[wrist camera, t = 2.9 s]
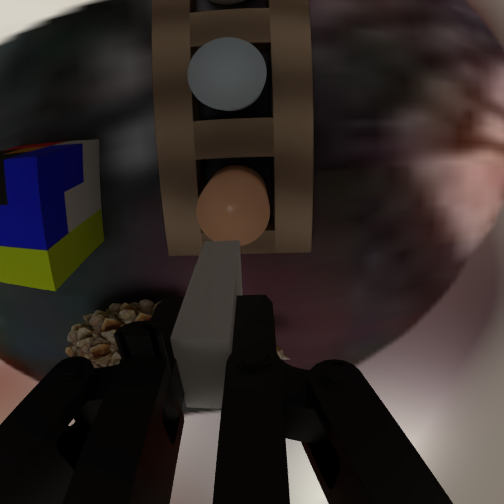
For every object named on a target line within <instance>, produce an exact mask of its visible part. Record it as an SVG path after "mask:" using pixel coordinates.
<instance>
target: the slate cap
mask: <svg viewBox="0 0 504 504" xmlns="http://www.w3.org/2000/svg"><path fill="white" fill-rule="evenodd" d="M266 76H267V70H266V64H265V61H264V58H263V56H262V55H261V53H260V52H259V51H258V49H256V48H255V47H254V46H253V45H252V44H250V43H249V42H247V41H245V40H242V39H239V38H233V37H224V38H218V39H214V40H212V41H210V42H208V43H206V44H204V45H203V46H202V47H201V48H199V49H198V50H197V52H196V53H195V54H194V56H193V57H192V59H191V61H190V64H189V67H188V83H189V86H190V89H191V91H192V92H193V94H194V95H195V97H196V98H197V99H198V100H199V101H201V102H202V103H203V104H205V105H207V106H209V107H211V108H214V109H218V110H225V111H238V110H242V109H244V108H247V107H248V106H250V105H251V104H253V103H254V102H255V101H256V100H257V99H258V97H259V96H260V94H261V92H262V90H263V87H264V84H265V81H266Z"/></svg>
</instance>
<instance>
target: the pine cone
mask: <svg viewBox="0 0 504 504" xmlns="http://www.w3.org/2000/svg"><path fill="white" fill-rule="evenodd" d="M160 302H161V301H160ZM160 302H159V303H160ZM157 304H158V303H157ZM157 304H156V303H155V304H154V303H153V302H152V301H150V300H147V299H144V300H142V301H140V302H139V303H136V302H132V303H131V304H127V303H124V304H123V305H122V304H121V303H118V304H116V303H112V304H111V305H110V306H109V309H106V310H105V312H103V311H100V310H96V311H95V312H94V314H88V315H84V316H83V317H84V320H85V322H84V323H80V324H76V325H74V326H72V327H71V331H70V333H69V334H68V341H70V342H71V344H72V345H69V347H66V353H67V354H68V355H69V356H70V357H73V356H82V357H86V358H87V359H89V360H91V362H92V364H93V366H94V368H100V367H106V366H112V365H117V364H119V362H120V360H121V356H120V353H119V350H118V347H117V344H116V341H115V338H114V335H113V334H114V333H115V332H116V331H117V330H118V329H119V328H120V327H122V326H123V325H125V324H128V323H131V322H134V321H149V322H150V319H151V317H152V315H153V312H154V310H155V308H156V306H157ZM276 350H277V353H278V356H279V357H280V358H281V359H289V358H287V357H286V356H284V353H283V349H281V348H280V347H278V345H276Z"/></svg>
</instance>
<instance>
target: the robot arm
mask: <svg viewBox="0 0 504 504" xmlns="http://www.w3.org/2000/svg"><path fill="white" fill-rule="evenodd" d="M113 335H114V338H115V341H116V344H117V347H118V350H119V353H120V356H121V360H120V362H119V364H117V365H112V366H106V367H100V368H94V366H93V364H92V362H91V360H89V359H87V358H86V357H82V356H73V357H69V358H66V359H64V360H62V361H60V362H59V363H58V364H57V365H55V366H54V368H53V369H52V370H51V371H50V372H49V373H48V374H47V375H46V376H45V377H44V378H43V379H42V380H41V381H40V382H39V383H38V384H37V385H36V387H35V388H33V390H32V391H31V392H30V393H29V394H28V395H27V396H26V397H25V398H24V399H23V400H22V402H20V404H19V405H18V406H17V407H16V408H15V409H14V410H13V411H12V412H11V413H10V415H9V416H8V417H7V418H6V419H5V420H4V421H3V422H2V423H1V425H0V504H169V503H170V498H171V492H172V486H173V480H174V474H175V469H176V463H177V458H178V452H179V446H180V441H181V435H182V430H183V424H184V415H183V411H182V404H183V400H184V398H185V402H186V406H187V407H193V408H222V409H221V420H220V430H219V440H218V451H217V462H216V472H215V483H214V484H215V485H214V494H213V495H214V496H213V504H290V498H289V483H288V469H287V455H286V441H285V438H288V439H292V440H297V441H301V442H302V445H303V447H304V450H305V452H306V454H307V456H308V459H309V461H310V463H311V465H312V468H313V470H314V472H315V474H316V476H317V479H318V481H319V483H320V485H321V488H322V490H323V492H324V494H325V496H326V498H327V501H328V503H329V504H453V503H452V502H451V500H450V499H449V497H448V495H447V494H446V493H445V491H444V490H443V488H442V487H441V485H440V484H439V482H438V481H437V479H436V478H435V477H434V475H433V474H432V472H431V471H430V469H429V468H428V466H427V465H426V464H425V462H424V461H423V459H422V458H421V456H420V455H419V454H418V452H417V451H416V449H415V448H414V446H413V445H412V444H411V442H410V441H409V439H408V438H407V436H406V435H405V433H404V432H403V431H402V429H401V428H400V426H399V425H398V424H397V422H396V421H395V419H394V418H393V416H392V415H391V414H390V412H389V411H388V409H387V408H386V407H385V405H384V404H383V402H382V401H381V400H380V398H379V397H378V395H377V394H376V393H375V391H374V390H373V388H372V387H371V386H370V384H369V383H368V381H367V380H366V379H365V377H364V376H363V374H362V373H361V372H360V370H359V369H357V368H356V367H355V366H354V365H353V364H351V363H348V362H346V361H343V360H336V359H333V360H325V361H322V362H320V363H317V364H316V365H315V366H314V367H313V368H312V369H311V370H305V369H300V368H296V367H293V366H290V365H288V364H286V363H285V362H284V361H283V360H281V358H280V357H279V356H278V353H277V350H276V338H275V327H274V316H273V305H272V302H271V301H270V299H269V298H268V297H267V296H266V295H242V276H241V256H240V240H237V241H205V242H204V244H203V247H202V250H201V252H200V255H199V258H198V261H197V263H196V266H195V269H194V272H193V274H192V277H191V280H190V283H189V286H188V288H187V291H186V294H185V297H165V298H164V299H163V300H162V301H161V302H160V303H158V304H157V306H156V308H155V310H154V312H153V315H152V317H151V319H150V322H149V321H134V322H131V323H128V324H125V325H123V326H122V327H120V328H119V329H118V330H117V331H116V332H115V333H114V334H113ZM73 418H74V420H75V423H74V424H73V425H71V426H68V425H69V423H70V422H71V421H72V420H73Z"/></svg>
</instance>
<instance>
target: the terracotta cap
mask: <svg viewBox="0 0 504 504" xmlns="http://www.w3.org/2000/svg"><path fill="white" fill-rule="evenodd" d="M196 215H197V220H198V223H199V226H200V228H201V229H202V231H203V232H204V233H205V235H206V236H208V237H209V238H210V239H211V240H213V241H237V240H240V246H243V245H246V244H249V243H251V242H253V241H254V240H256V239H257V238H258V237H259V236H260V235H261V234H262V233H263V232H264V230H265V229H266V227H267V225H268V222H269V217H270V206H269V201H268V195H267V189H266V185H265V182H264V180H263V179H262V177H261V176H260V175H259V174H258V173H257V172H256V171H255V170H254V169H252V168H250V167H248V166H245V165H240V164H233V165H228V166H225V167H223V168H221V169H219V170H218V171H217V172H216V173H214V175H213V176H212V177H211V179H210V180H209V182H208V183H207V185H206V186H205V188H204V190H203V191H202V193H201V195H200V196H199V199H198V202H197V207H196Z"/></svg>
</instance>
